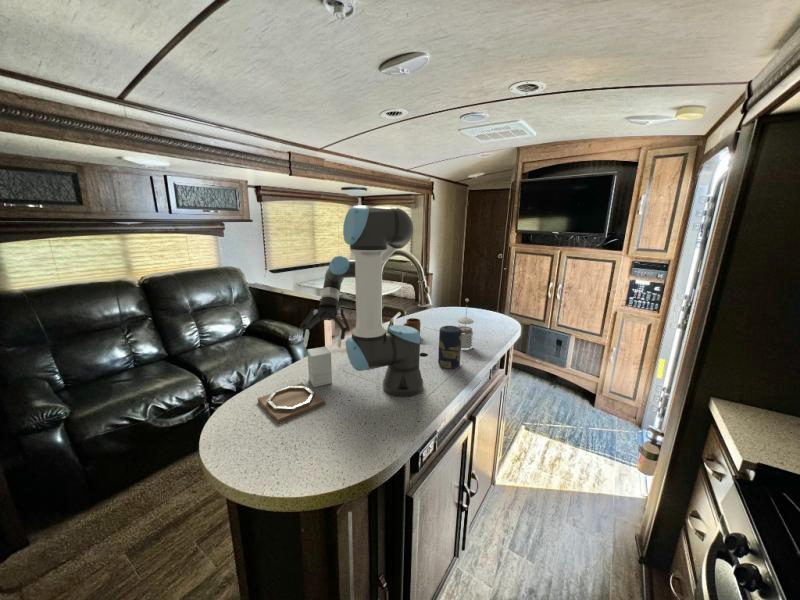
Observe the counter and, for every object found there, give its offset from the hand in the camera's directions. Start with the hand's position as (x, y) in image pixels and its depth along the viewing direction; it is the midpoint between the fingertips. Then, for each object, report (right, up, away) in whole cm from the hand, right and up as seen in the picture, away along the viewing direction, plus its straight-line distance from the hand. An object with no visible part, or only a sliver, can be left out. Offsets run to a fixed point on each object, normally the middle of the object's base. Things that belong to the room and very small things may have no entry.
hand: (321, 346), depth 125 cm
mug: (+37, -2, +46) cm, 58 cm away
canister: (+52, -10, +13) cm, 55 cm away
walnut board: (-6, -17, -19) cm, 26 cm away
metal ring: (-6, -15, -19) cm, 25 cm away
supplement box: (0, -13, -3) cm, 14 cm away
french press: (+62, -6, +34) cm, 71 cm away
